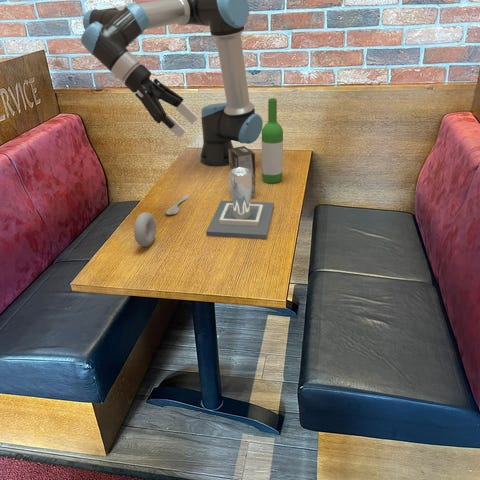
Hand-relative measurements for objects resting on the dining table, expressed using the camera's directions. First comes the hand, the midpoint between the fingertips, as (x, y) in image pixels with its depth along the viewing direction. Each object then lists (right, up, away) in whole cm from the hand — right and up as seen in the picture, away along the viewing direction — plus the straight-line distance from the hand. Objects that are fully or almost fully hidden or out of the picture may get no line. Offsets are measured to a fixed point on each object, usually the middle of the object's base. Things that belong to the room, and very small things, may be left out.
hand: (189, 127), depth 131 cm
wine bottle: (+27, -10, +41) cm, 50 cm away
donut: (-12, -34, +1) cm, 36 cm away
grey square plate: (+15, -26, +12) cm, 33 cm away
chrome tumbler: (+15, -25, +12) cm, 32 cm away
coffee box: (+16, -16, +30) cm, 38 cm away
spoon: (-6, -21, +25) cm, 33 cm away
